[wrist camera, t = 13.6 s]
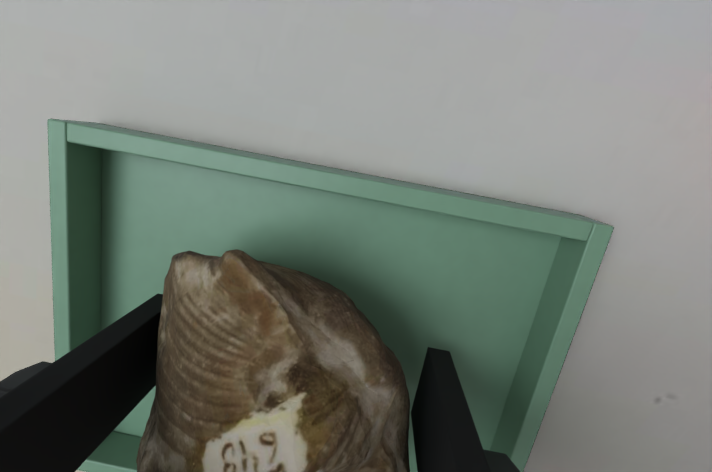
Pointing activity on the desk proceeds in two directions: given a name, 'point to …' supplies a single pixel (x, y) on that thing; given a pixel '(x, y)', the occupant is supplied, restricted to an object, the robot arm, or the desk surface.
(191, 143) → the tray
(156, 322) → the robot arm
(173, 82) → the desk surface
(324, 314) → the fossilized seashell
